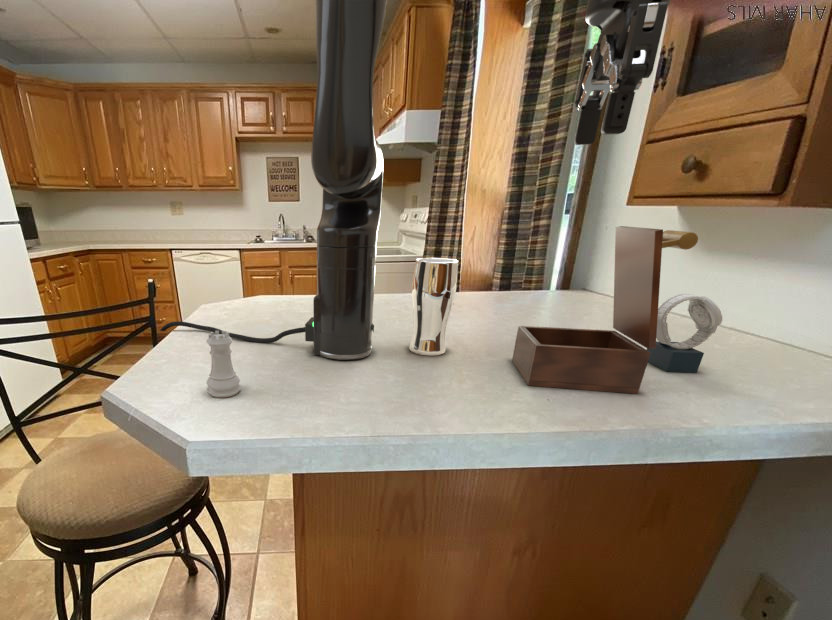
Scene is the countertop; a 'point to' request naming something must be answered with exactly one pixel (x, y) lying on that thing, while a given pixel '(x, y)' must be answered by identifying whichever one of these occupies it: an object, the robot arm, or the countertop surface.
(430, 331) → the beer glass
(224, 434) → the countertop surface
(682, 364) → the watch
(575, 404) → the countertop surface
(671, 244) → the panel with brass rod
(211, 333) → the rook chess piece
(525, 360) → the brown wooden box
